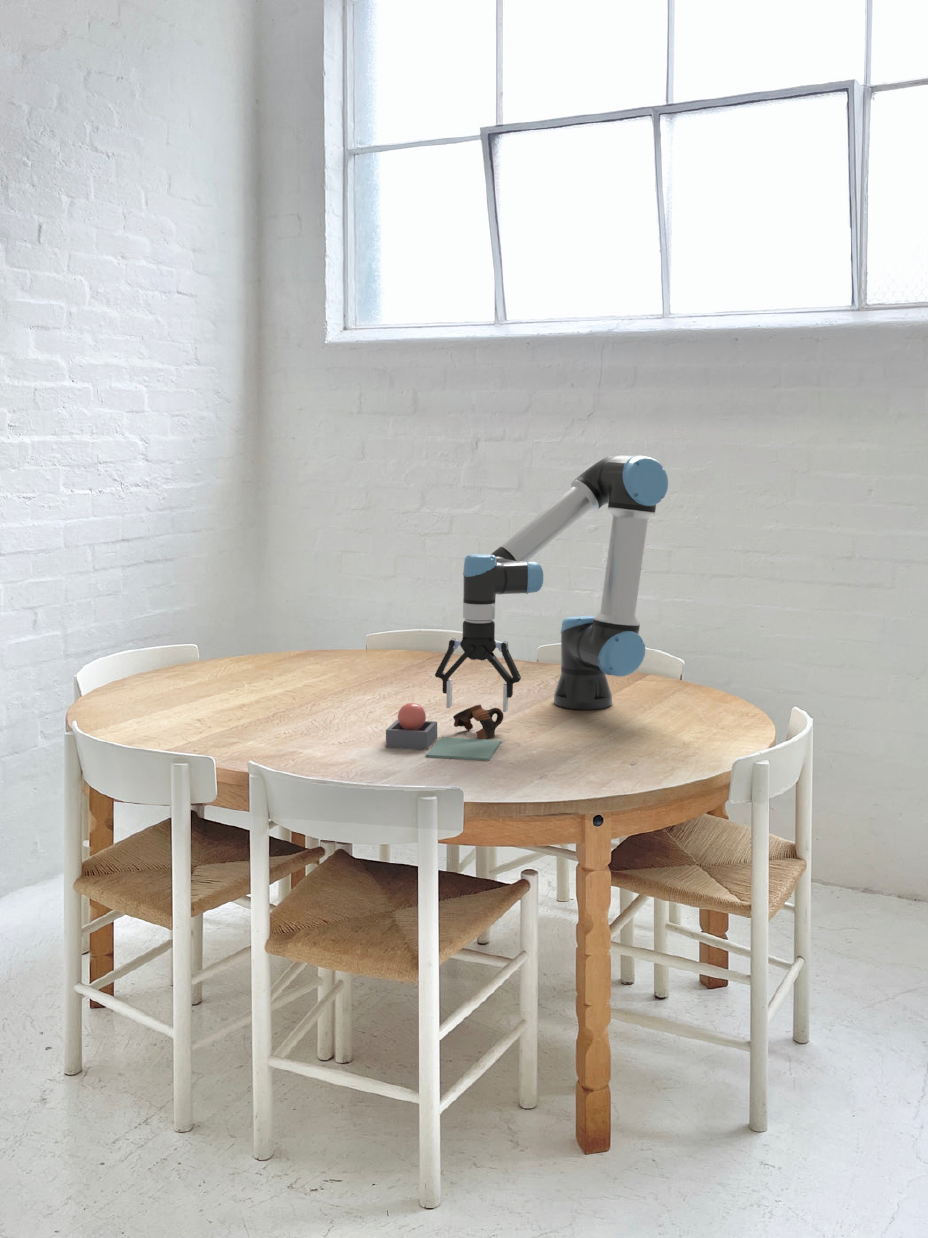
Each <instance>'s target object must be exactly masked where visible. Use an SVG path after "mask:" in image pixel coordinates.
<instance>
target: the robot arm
mask: <svg viewBox="0 0 928 1238" xmlns="http://www.w3.org/2000/svg"><path fill="white" fill-rule="evenodd" d="M668 487H669V479H668V474H667V471H666V470H665V468H664V466H663V465H662V463H660V462H659V461H658V460H657V459H656V458H652V457H649V456H644V455H621V454H614V455H609V456H606V457H604V458H602V459H600V460H599V461H597V462H595V463H594V464H592V465H591V466H590V467H588V468H587V469H586V470H585V471H583V472H582V473H581V474H580V475H578V476H577V477H576V478H575V479H573V480H572V481H571V483H570V488H569V489H568V490H567V491H566V492H564V493H562V495H561V496H559V497H558V498H557V499H556V500H554V501H553V502H552V503H551V504H550V505H548V506H547V507H546V508H545V509H544V510H543V511H542V512H540V513H539V514H538V515H537V516H535V517H534V518H532V520H531V521H529V522H528V523H526V525H525V526H524V527H522V528H520V530H518V531H517V532H516V533H515V534H514V535H512V536H511V537H510V538H509V539H507V540H506V542H504V543H503V544H502V545H500V546H499V547H498V548H497V549H496V550H494V551H493V552H491V553H490V554H488V553H472V554H468V555H466V556H465V557H464V561H463V562H464V563H463V572H462V575H463V603H462V618H463V619H464V620H463V622H462V637H461V638H462V639H461V640H458V639H456V638H452V639H450V640H449V641H448V646H447V647H448V648H447V650H446V652H445V655H444V656H443V658H442V660H441V662H440V663H439V666H438V668H437V670H436V671H435V673H434V677H435V678H439V679H440V680H442V694H446V701H445V702H446V704H445V706H446V708H445V709H450V708H451V707H452V706H453V678H450V677H451V676H452V675H453V674H454V673H455V672H456V671H457V669H459V667H460V666H461V665H462V664H463V663H464V661H466V659H470V660H471V661H475V660H479V661H486V660H487V661H488V662H489V663H490V664H491V665H492V667H494V669H495V670H496V672H497V673H498V674H499V675H500V676H501V679H503V680H504V682H505V683H503V686H502V687H503V688H502V689H503V690H502V692H503V694H502V712H503V713H507V711H508V710H509V699H510V698H512V697H513V694H514V684H517V683H519V682H520V681H521V680H522V677H521V674H520V672H519V670H518V668H517V666H516V664H515V661H514V659H513V657H512V655H511V653H510V651H509V642H508V641H505V640H504V641H503V642H502V641H501V642H496V640H495V637H496V635H495V631H496V629H495V627H496V624H495V623H496V622H495V621H494V620H496V595H513V594H515V595H516V594H518V595H519V594H526V595H528V594H533V593H538V592H539V591H540V590H541V589H542V587H543V584H544V572H543V571H544V570H543V567H542V566H541V564H540V563H539V562H537V561H531V560H533V559H534V558H535V557H536V556H537V555H539V554H540V553H541V552H542V551H544V550H545V549H546V548H547V547H548V546H550V544H552V543H553V542H554V541H556V540H557V539H558V538H559V537H560V536H562V535H563V534H564V533H565V532H566V531H568V530H569V529H570V528H571V527H572V526H574V525H575V524H576V523H577V522H579V521H580V520H581V519H582V518H584V516H586V515H587V514H588V513H589V512H596V511H598V510H599V509H600V508H602V507H604V506H605V505H606V504H607V510H609V512H610V513H611V515H612V521H611V529H610V535H609V536H610V538H609V543H608V553H607V558H606V559H607V560H606V567H605V574H604V581H603V589H602V597H601V604H600V610H599V612H598V613H597V614H596V615H582V616H581V615H580V616H570V617H566V618H564V619H563V620H562V623H561V629H560V634H561V635H560V636H561V639H560V642H561V644H560V645H561V646H560V649H561V651H560V652H561V653H560V657H561V658H560V667H561V668H560V675H559V679H558V682H557V685H556V687H555V690H554V694H553V704H555V705H556V706H557V707H561V708H566V709H572V710H589V711H590V710H599V709H600V710H601V709H605V708H609V707H610V706H612V704H613V694H612V691H611V688H610V685H609V684H610V683H609V681H608V677H607V676H614V677H620V678H621V677H626V676H628V675H631V674H633V673H634V672H635V671H636V670H638V669H639V668H640V666H641V665H642V663H643V661H644V659H645V655H646V644H645V641H643V638H642V637H641V636H640V628H641V627H640V625H641V623H640V621H639V620H638V619H637V617H636V611H637V610H636V609H637V603H638V594H639V588H640V583H641V581H640V580H641V575H642V574H641V573H642V568H643V567H642V565H643V558H644V553H645V552H644V550H645V543H646V536H647V527H648V522H649V520H650V519H651V518H652V517H653V516H654V515H655V514H656V509H657V504H659V503H660V502H662V499H664V498H665V496H666V495H667V492H668V489H669V488H668ZM459 646H460V648H461V649H462V651H463V654H461V655H460V657H459V658H458V659H457V660H456V661H455V662H454V663H453V664H452V666H451V667H450V668H449V669H448V670H447V671H446V673H445V672H444V671H445V669H446V667H447V665H448V663H449V662H450V659H451V658H452V656H453V654H454V652H455V650H457V649H458V648H459ZM496 648H497V649H498V651H499V652H500V653H501V655H502V657H503V659H504V662H505V663H506V666H507V668H508V670H509V672H510V673H509V672H508V670H507V669H506V668H505V667H504V666H503V664H502V663H501V661H500V660H499V659H498V657H497V656H496V654H495V653H494V651H495V650H496Z"/></svg>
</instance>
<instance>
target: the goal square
mask: <svg viewBox="0 0 928 1238" xmlns="http://www.w3.org/2000/svg"><path fill="white" fill-rule="evenodd" d="M501 744H502V739H487V738H485V739H478V738H468V737H451V736H448V737H447V736H441V738H439V739H438V741H436V743H435V744H434V745H433V747H431V748H430V750H429V751H428V752H427V753H426V754H425V757H426V758H437V759H438V758H439V759H457V760H468V761H469V760H472V761H473V760H474V761H485V760H488V761H491V758H492V757H493V755H494V754H495V753H496V751H497V750H498V748H499V747H500V745H501Z"/></svg>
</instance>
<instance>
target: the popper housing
mask: <svg viewBox="0 0 928 1238" xmlns="http://www.w3.org/2000/svg"><path fill="white" fill-rule="evenodd" d="M437 740H438V721H432V720H425V723H424V725H423V726H422V727H421V728H420V729H418V730H406V729H404V728H403V727H402V726H401V725H400V724H399V721H398V718H397V719H396V720H395V721H394V722H393V723H392V724H390V725H389V726H388V728H386V729H385V747H386V748H398V749H413V750H429V749H430V747H432V745H433V744H434V743H435V742H436V741H437Z"/></svg>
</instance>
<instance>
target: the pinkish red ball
mask: <svg viewBox="0 0 928 1238" xmlns="http://www.w3.org/2000/svg"><path fill="white" fill-rule="evenodd" d="M397 719H398V721H399V724H400V725H401V726H402V727H403V728H404V729H406V730H418V729H420V728H421V727H422V726H423V725H424V723H425V721H427V720H426V719H427V716H426V711H425V709H424V708H423V707H422V706H421V705H420V704H418V703H416V702H409V703H405V704H404V705H403V706H401V707H400V709H399V710H398V714H397Z"/></svg>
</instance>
